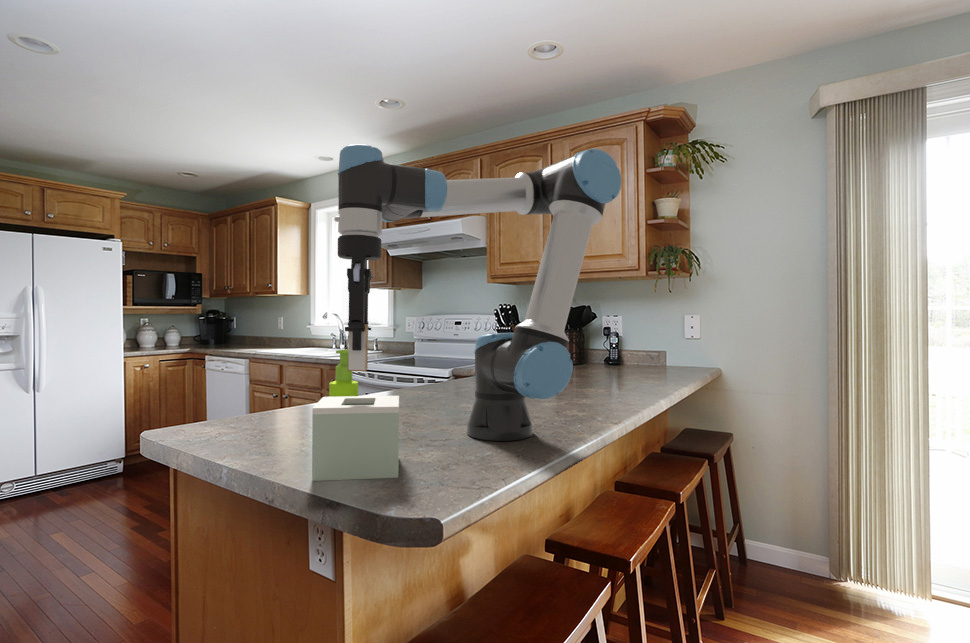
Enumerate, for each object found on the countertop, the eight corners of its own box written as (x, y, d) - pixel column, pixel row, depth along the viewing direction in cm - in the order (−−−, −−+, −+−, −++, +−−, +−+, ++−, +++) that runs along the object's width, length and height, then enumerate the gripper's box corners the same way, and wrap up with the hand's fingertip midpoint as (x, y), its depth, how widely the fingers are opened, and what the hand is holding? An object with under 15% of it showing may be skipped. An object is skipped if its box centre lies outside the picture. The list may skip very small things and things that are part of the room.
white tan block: (350, 368, 96) (351, 323, 96) (367, 368, 96) (368, 324, 96) (347, 371, 91) (348, 324, 91) (365, 371, 91) (366, 324, 91)
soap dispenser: (355, 449, 108) (355, 350, 107) (323, 447, 109) (324, 350, 109) (367, 442, 113) (367, 349, 113) (337, 440, 115) (337, 348, 114)
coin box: (398, 458, 101) (399, 395, 101) (398, 477, 89) (398, 406, 89) (322, 460, 99) (323, 396, 99) (312, 480, 87) (312, 408, 87)
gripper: (343, 242, 102) (342, 363, 102) (331, 227, 84) (329, 373, 84) (383, 243, 103) (381, 363, 103) (379, 229, 85) (377, 373, 85)
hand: (358, 367), depth 94 cm, fingers closed on white tan block, 5 cm apart
